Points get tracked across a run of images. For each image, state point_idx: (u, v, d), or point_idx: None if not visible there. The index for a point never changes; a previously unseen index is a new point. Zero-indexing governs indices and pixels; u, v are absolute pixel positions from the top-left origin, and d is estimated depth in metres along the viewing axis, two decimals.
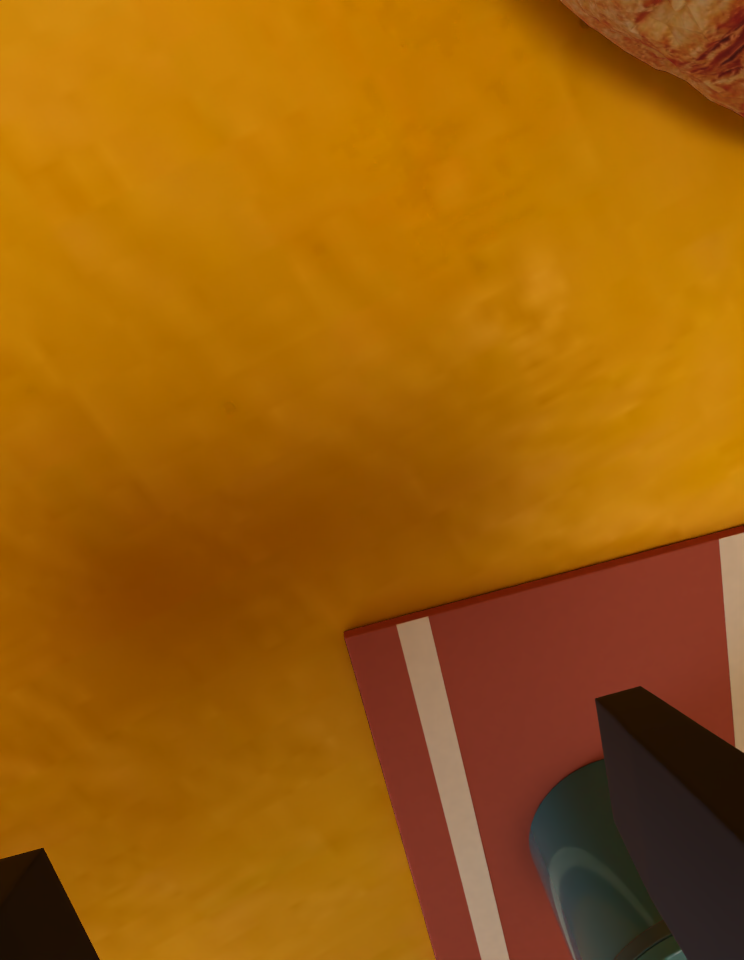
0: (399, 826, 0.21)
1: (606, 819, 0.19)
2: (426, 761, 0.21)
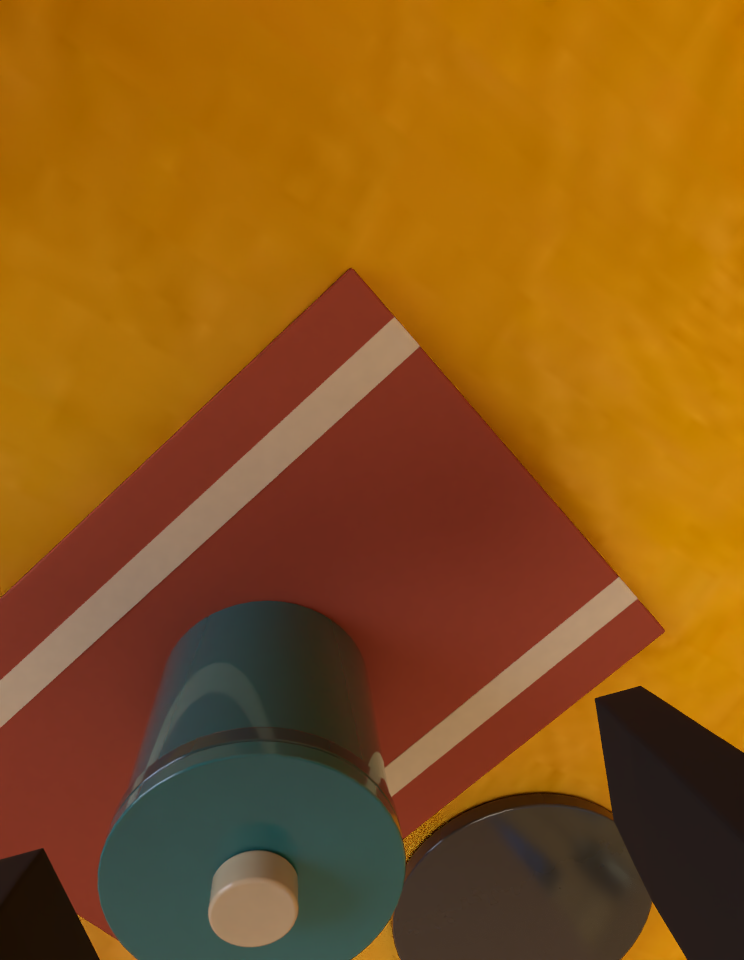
0: (141, 468, 0.17)
1: (321, 653, 0.16)
2: (244, 448, 0.17)
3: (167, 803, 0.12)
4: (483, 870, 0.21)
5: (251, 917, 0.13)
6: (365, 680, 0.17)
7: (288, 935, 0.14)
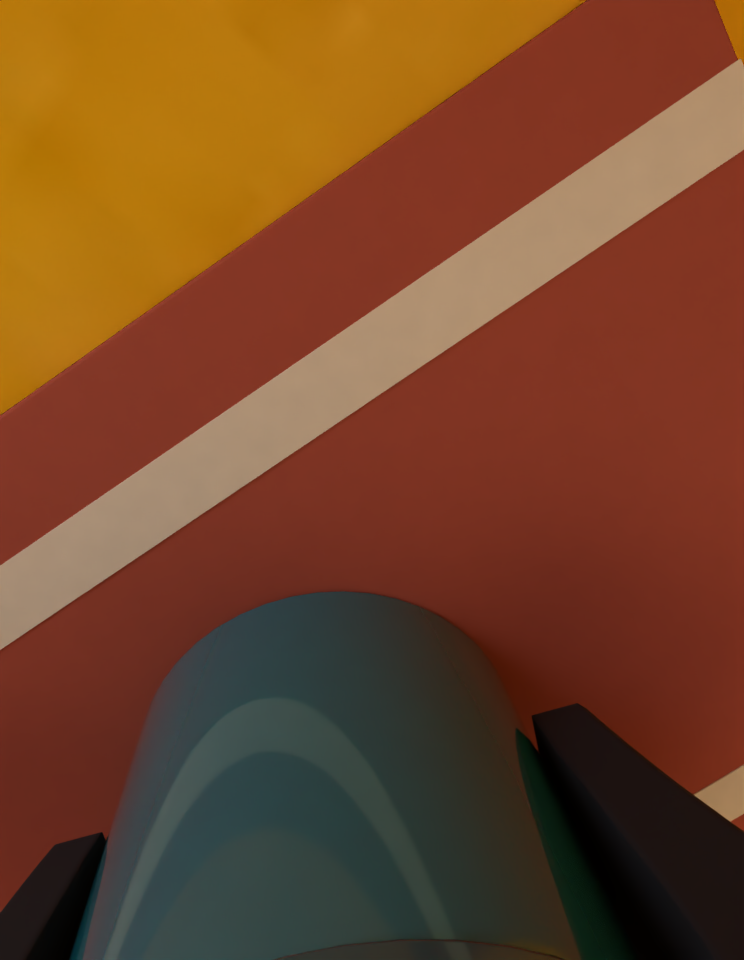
0: (182, 291, 0.08)
1: (496, 716, 0.08)
2: (392, 283, 0.08)
3: None
4: None
5: None
6: None
7: None
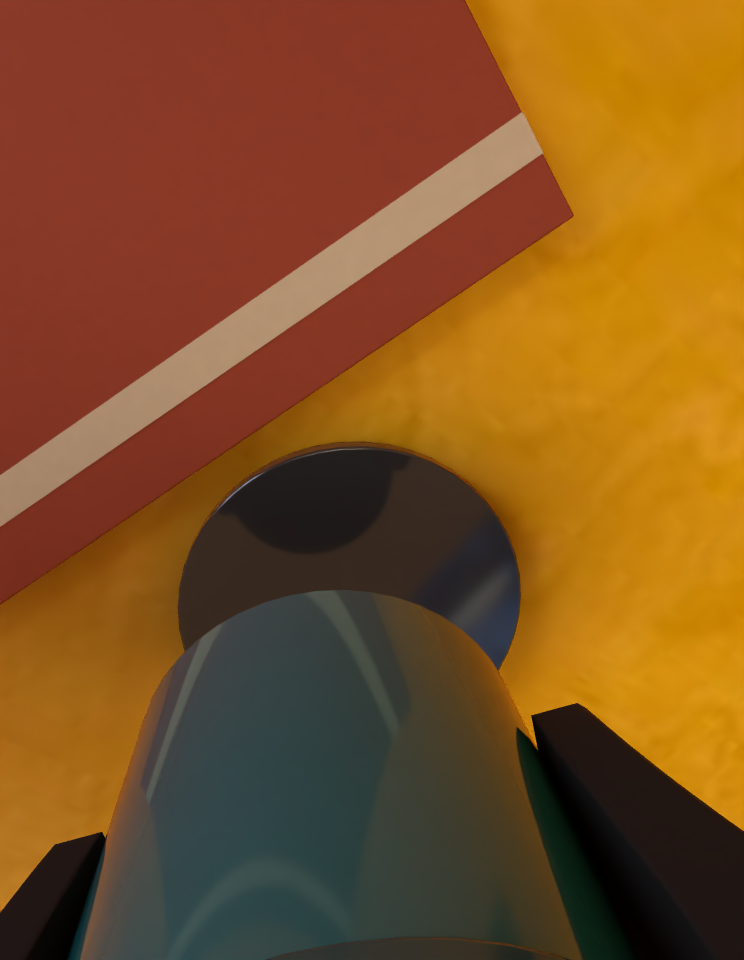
0: None
1: (495, 714, 0.08)
2: None
3: None
4: (304, 535, 0.17)
5: None
6: None
7: None
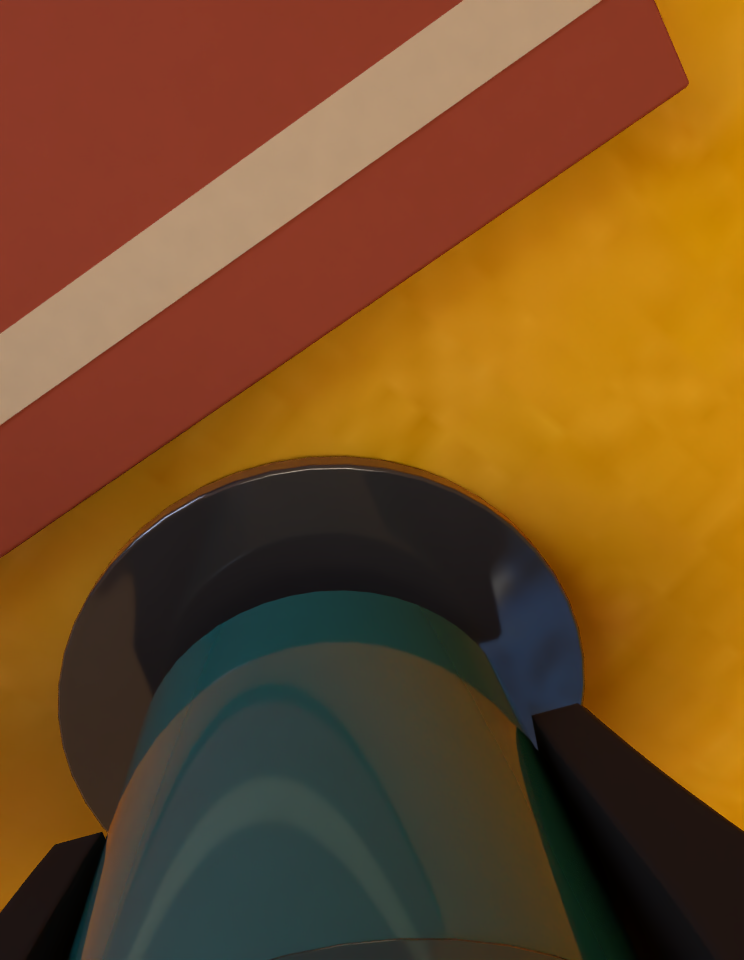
0: None
1: (496, 715, 0.08)
2: None
3: None
4: (253, 603, 0.11)
5: None
6: None
7: None
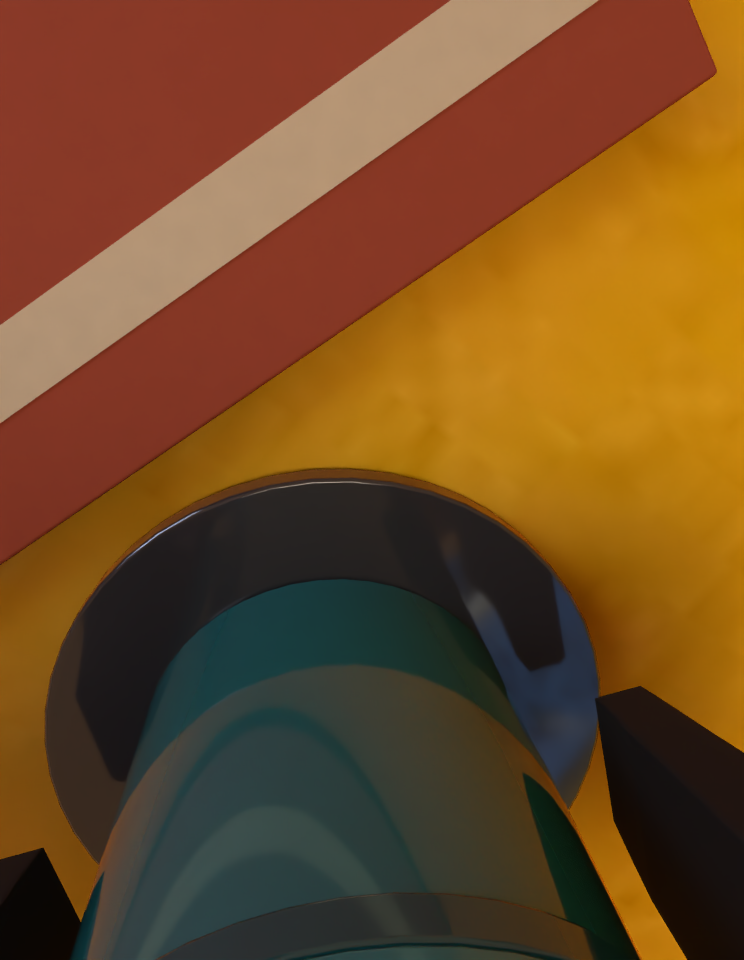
0: None
1: (489, 697, 0.08)
2: None
3: None
4: None
5: None
6: None
7: None
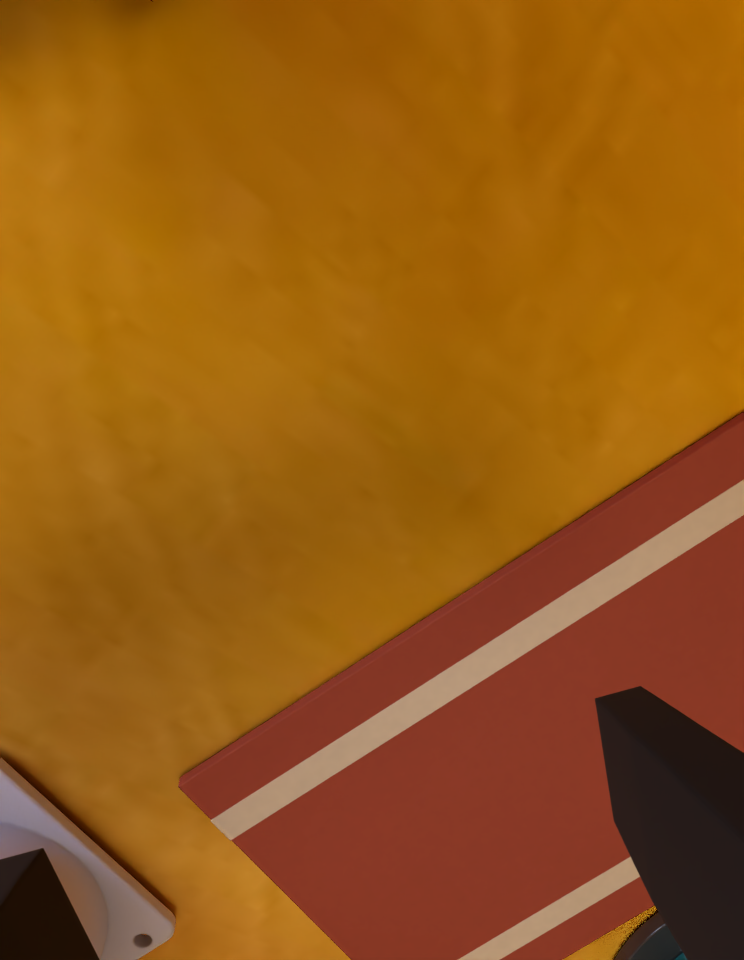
0: (527, 561, 0.18)
1: None
2: (618, 554, 0.19)
3: None
4: None
5: None
6: None
7: None
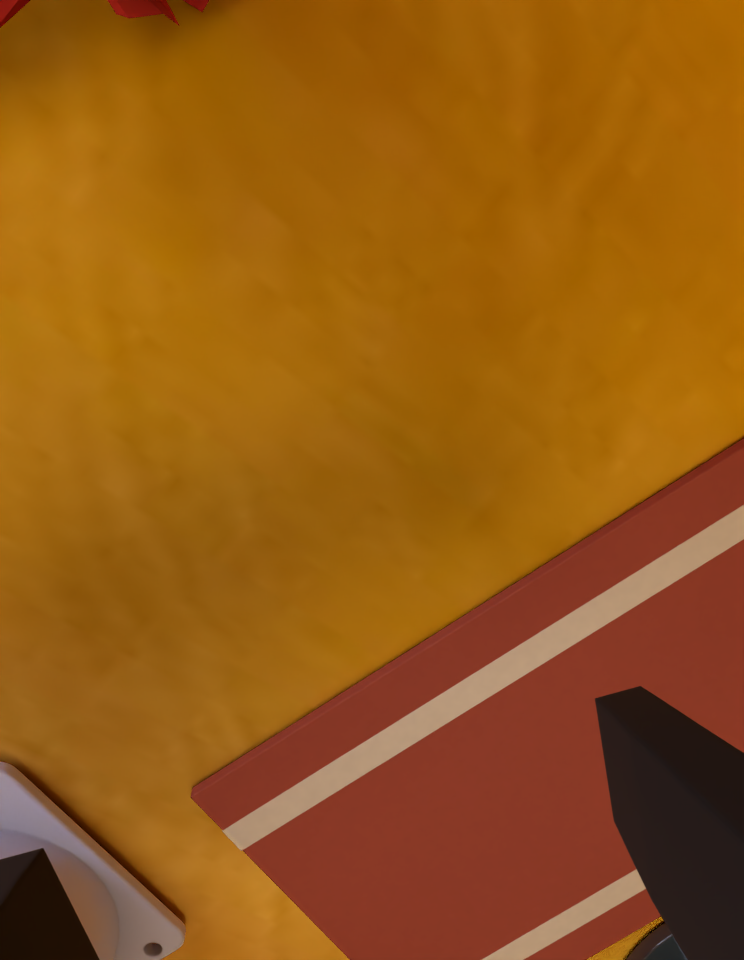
0: (539, 577, 0.18)
1: None
2: (630, 571, 0.19)
3: None
4: None
5: None
6: None
7: None
